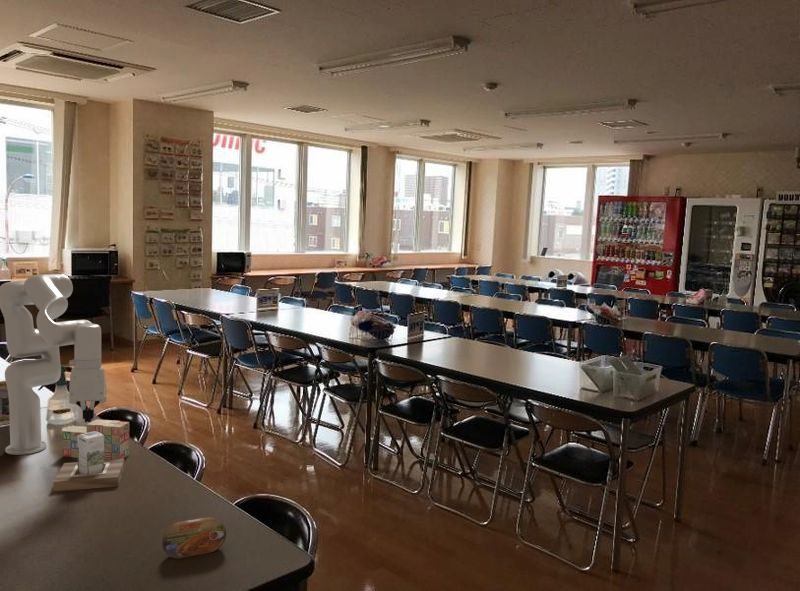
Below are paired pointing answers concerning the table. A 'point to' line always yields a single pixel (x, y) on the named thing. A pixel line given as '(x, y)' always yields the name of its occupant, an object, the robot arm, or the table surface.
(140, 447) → the table surface
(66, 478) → the socket board
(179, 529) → the tin
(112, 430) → the stack of blocks
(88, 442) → the syrup box
